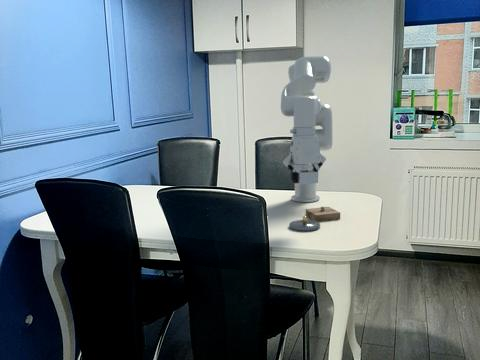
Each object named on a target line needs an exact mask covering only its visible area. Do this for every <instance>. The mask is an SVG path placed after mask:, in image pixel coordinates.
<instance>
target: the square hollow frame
mask: <svg viewBox="0 0 480 360" xmlns="http://www.w3.org/2000/svg"><path fill="white" fill-rule="evenodd" d="M296 172H297V184H299V185H302V184H313V183H316V184H319V171H318V172H317V171H314V170H311V169H303V170H296Z"/></svg>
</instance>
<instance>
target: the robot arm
mask: <svg viewBox="0 0 480 360" xmlns="http://www.w3.org/2000/svg"><path fill="white" fill-rule="evenodd" d="M287 73H288V77H289V78H288V79H289V82H288V83H287V84H286V85H285V86H284V87H283V89H282V91H281V93H280V94H281V95H280V111H281V112H280V113H281V114H282V115H283V116H285V117H290V118H291V117H293V126H292V127H293V128H291V129H290V130H289V133H290V134H292V136H291V141H290V146H289V149H290V150H289V154H288V156H286V157H285V158H284V159H283V161H282V163H283V164H284V166H286V168H287V169H288V170H289V171H290V174H291V175H290V178H291V181H292V183H294V194H293V195H291V198H290V199H291V200H292V201H293V202H297V203H313V202H318V201H320V195H318V194H317V183H313V184H302V185H299V184H297V172H296V170H303V169H311V170H314V171H317V172H318V173H319V170H320V168H321V167H322V166H324V165H323V164H324V163H325V162H326V160H327V158H326V156H324V155H322V154H321V152H323V151H324V152H326V151H330V150H331V149H332V147H333V111H332V107H331V106H330V105H329V104H327V103H321V100H320V99H319V97H318V96H316V94H315V93H316V92H315V91H314V89H315V87H316V84H325V83H328V82H329V80H330V77H331V73H332V65H331V61H330V59H329V58H328V57H327V56H324V55H317V56H315V55H313V56H302V57H299V58H298V59H297V60H295V62H294V63H293V64H291V65H290V66H289V67H288V72H287ZM316 127H321V128H318V129H317V128H316ZM290 163H291V164H290Z"/></svg>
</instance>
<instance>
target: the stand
mask: <svg viewBox="0 0 480 360" xmlns="http://www.w3.org/2000/svg"><path fill="white" fill-rule="evenodd" d="M305 216H307V217H308V218H309V219H310V220H313V221H317V222H325V221H333V220H341V211H338V210H336V209H334V208H332V207H330V206H320V207H313V208H312V207H311V208H305Z"/></svg>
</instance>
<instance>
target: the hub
mask: <svg viewBox="0 0 480 360" xmlns="http://www.w3.org/2000/svg"><path fill="white" fill-rule="evenodd" d="M307 217H308V216H306V215H303V216H302V219H298V220H293V221H291V222H289V229H290V230H293V231H296V232H314V231H318V230H319V229H320V228H321V223H320V221H315V220H313V219H307Z"/></svg>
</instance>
